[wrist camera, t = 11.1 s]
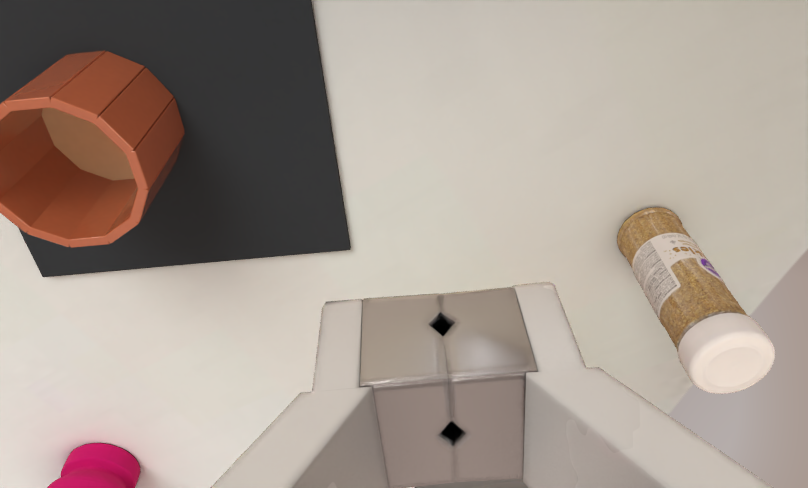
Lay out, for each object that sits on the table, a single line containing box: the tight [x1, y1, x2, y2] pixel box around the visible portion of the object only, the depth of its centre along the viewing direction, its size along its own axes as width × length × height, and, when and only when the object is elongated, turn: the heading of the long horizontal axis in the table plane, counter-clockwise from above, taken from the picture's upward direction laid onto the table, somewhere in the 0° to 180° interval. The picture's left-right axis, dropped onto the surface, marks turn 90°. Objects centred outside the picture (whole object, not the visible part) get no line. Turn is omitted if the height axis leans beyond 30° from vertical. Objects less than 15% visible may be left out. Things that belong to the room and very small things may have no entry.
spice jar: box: [617, 208, 775, 394], centre depth 40 cm, size 5×5×13 cm
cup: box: [0, 51, 185, 248], centre depth 36 cm, size 8×8×8 cm
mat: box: [0, 0, 351, 277], centre depth 39 cm, size 22×22×1 cm
